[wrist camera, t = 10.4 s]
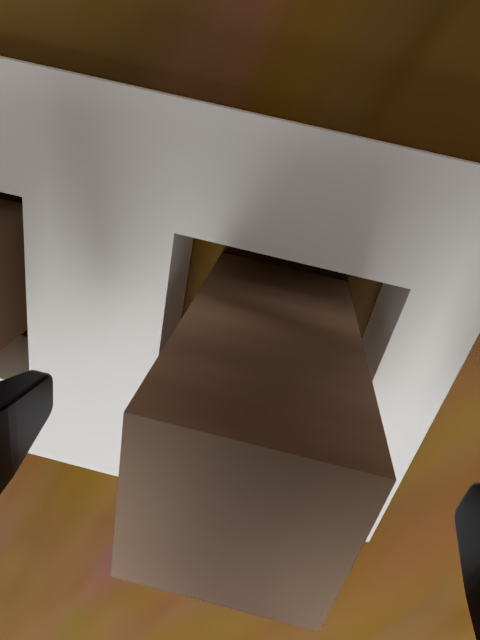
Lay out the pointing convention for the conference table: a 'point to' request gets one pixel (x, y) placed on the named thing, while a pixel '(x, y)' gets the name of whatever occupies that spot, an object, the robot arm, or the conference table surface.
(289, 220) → the white block with holes
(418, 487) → the conference table surface
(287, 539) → the beige rectangular block
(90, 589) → the conference table surface
